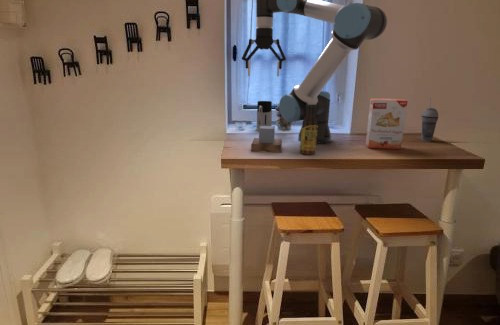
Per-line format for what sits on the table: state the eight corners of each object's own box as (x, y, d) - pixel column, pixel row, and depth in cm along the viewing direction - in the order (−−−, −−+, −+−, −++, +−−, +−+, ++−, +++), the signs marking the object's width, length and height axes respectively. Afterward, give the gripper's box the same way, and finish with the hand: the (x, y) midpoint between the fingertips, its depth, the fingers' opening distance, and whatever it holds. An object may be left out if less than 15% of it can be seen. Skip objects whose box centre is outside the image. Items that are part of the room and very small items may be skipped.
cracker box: (368, 148, 158) (373, 99, 152) (365, 145, 164) (369, 98, 158) (401, 149, 157) (408, 100, 151) (397, 146, 163) (403, 98, 157)
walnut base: (281, 145, 161) (281, 139, 160) (280, 152, 150) (280, 145, 149) (254, 144, 162) (254, 138, 162) (251, 151, 151) (251, 144, 150)
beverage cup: (430, 143, 170) (436, 99, 164) (415, 140, 175) (421, 97, 170) (437, 141, 174) (444, 98, 169) (422, 138, 180) (428, 97, 174)
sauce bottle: (303, 155, 145) (306, 105, 139) (297, 152, 150) (299, 103, 145) (318, 154, 146) (322, 104, 141) (311, 151, 152) (314, 102, 147)
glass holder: (274, 129, 199) (274, 101, 195) (267, 133, 186) (267, 104, 182) (258, 128, 202) (258, 100, 197) (250, 132, 189) (251, 103, 184)
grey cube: (274, 140, 158) (274, 126, 156) (273, 143, 152) (273, 128, 150) (260, 139, 158) (260, 125, 157) (258, 142, 153) (259, 128, 151)
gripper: (292, 28, 168) (290, 76, 174) (238, 28, 171) (238, 75, 176) (292, 27, 161) (290, 77, 167) (235, 27, 164) (235, 76, 169)
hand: (263, 76), depth 172 cm, fingers open, 13 cm apart
